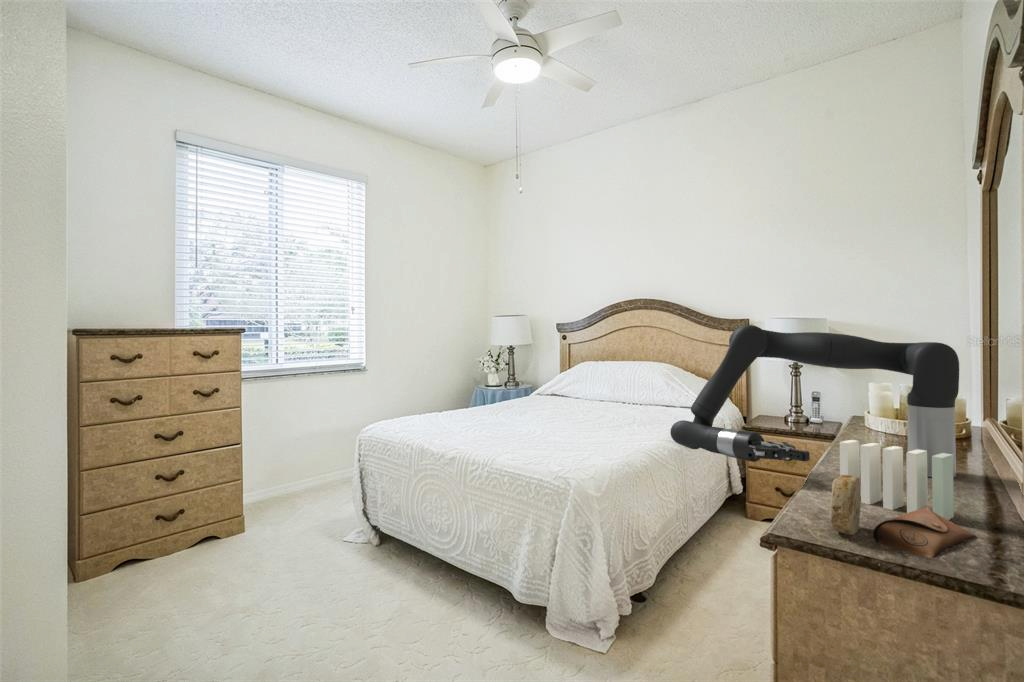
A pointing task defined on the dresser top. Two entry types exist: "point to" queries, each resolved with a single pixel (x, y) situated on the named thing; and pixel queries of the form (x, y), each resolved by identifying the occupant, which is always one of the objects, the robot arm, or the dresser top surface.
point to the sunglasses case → (920, 533)
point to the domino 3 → (893, 477)
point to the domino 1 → (849, 458)
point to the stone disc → (845, 504)
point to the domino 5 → (942, 485)
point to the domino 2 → (870, 473)
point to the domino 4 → (916, 480)
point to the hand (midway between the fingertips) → (807, 456)
